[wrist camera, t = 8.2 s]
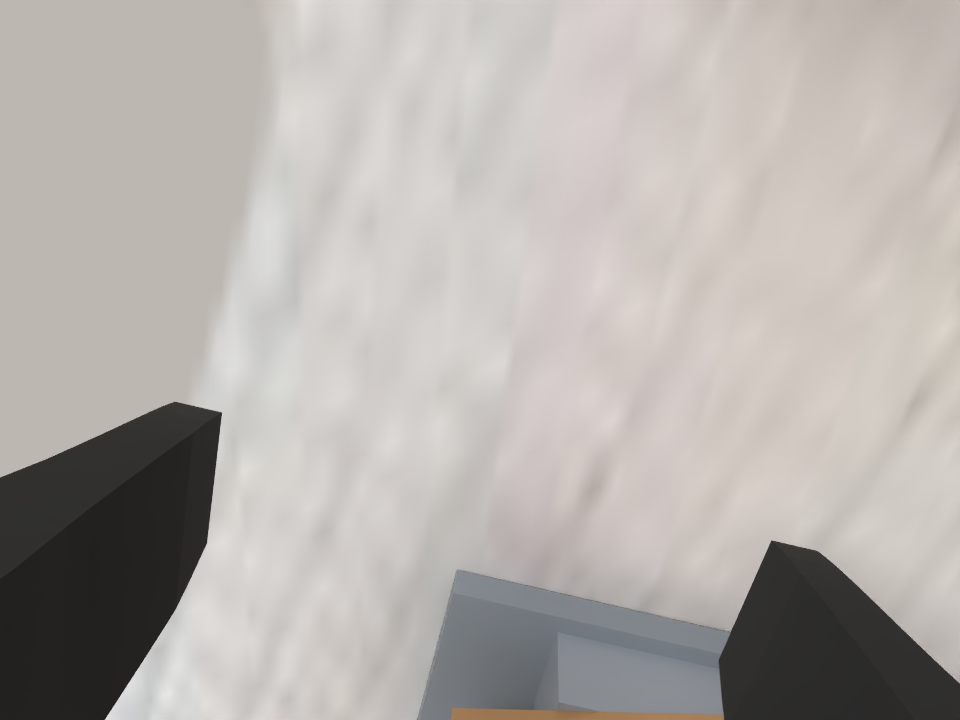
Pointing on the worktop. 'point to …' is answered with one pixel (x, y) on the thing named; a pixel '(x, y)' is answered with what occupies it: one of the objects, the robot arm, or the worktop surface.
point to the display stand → (566, 655)
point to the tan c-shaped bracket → (568, 715)
